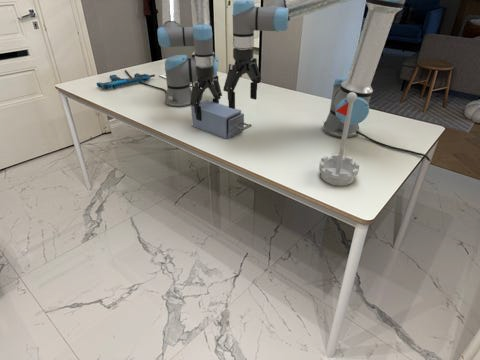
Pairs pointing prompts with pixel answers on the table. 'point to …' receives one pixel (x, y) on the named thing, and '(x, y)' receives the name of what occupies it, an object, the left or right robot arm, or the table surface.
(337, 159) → the flag stand
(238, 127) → the drawer
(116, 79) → the submachine gun
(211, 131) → the cabinet
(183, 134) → the table surface
